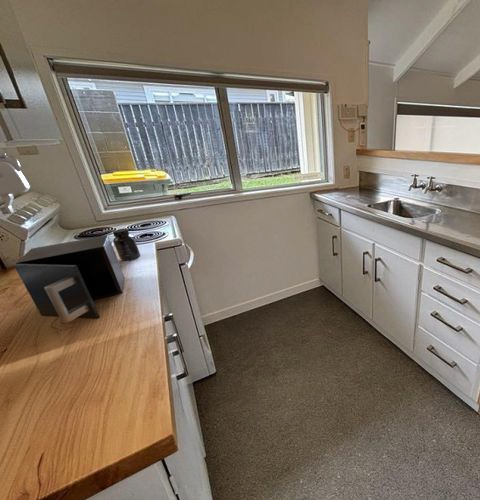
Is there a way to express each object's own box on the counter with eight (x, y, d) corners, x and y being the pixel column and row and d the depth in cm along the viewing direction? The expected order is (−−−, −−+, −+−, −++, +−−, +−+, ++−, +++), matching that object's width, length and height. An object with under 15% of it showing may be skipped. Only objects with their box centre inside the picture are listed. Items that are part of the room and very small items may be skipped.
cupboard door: (75, 333, 71) (46, 277, 65) (15, 329, 73) (-18, 275, 67) (100, 317, 77) (76, 265, 71) (44, 314, 79) (17, 263, 73)
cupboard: (122, 293, 88) (103, 246, 82) (43, 314, 79) (15, 263, 73) (124, 278, 98) (108, 235, 92) (55, 295, 89) (31, 248, 83)
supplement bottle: (123, 256, 117) (112, 229, 113) (142, 253, 120) (133, 226, 115) (118, 262, 111) (106, 234, 107) (138, 259, 114) (128, 231, 109)
